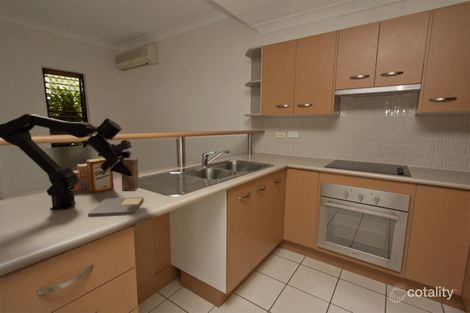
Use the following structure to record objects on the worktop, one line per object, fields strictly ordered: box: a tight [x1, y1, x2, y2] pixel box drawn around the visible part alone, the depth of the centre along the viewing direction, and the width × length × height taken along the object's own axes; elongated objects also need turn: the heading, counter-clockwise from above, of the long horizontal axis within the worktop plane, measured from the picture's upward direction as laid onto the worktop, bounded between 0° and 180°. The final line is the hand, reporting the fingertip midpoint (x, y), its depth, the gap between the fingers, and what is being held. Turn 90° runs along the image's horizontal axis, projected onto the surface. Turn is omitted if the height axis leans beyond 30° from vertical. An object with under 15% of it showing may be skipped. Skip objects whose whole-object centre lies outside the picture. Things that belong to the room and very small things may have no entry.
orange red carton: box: [70, 163, 89, 192], centre depth 116 cm, size 21×6×12 cm, turn 136°
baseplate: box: [87, 197, 144, 217], centre depth 93 cm, size 16×16×1 cm
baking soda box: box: [85, 157, 115, 194], centre depth 113 cm, size 10×6×16 cm
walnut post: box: [120, 157, 140, 192], centre depth 93 cm, size 5×5×13 cm
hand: (133, 174), depth 93 cm, fingers closed on walnut post, 5 cm apart
